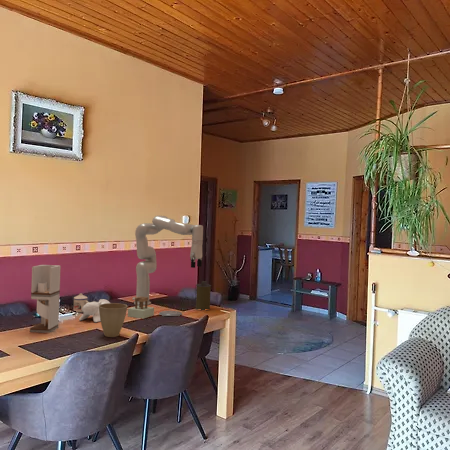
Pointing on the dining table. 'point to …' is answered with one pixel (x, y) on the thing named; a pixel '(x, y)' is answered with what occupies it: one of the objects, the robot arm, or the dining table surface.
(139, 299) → the stool
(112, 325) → the plant pot
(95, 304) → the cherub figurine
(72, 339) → the dining table surface
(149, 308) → the block
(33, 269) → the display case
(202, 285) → the canister
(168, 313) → the trivet
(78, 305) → the lidded ceramic jar
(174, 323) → the dining table surface
